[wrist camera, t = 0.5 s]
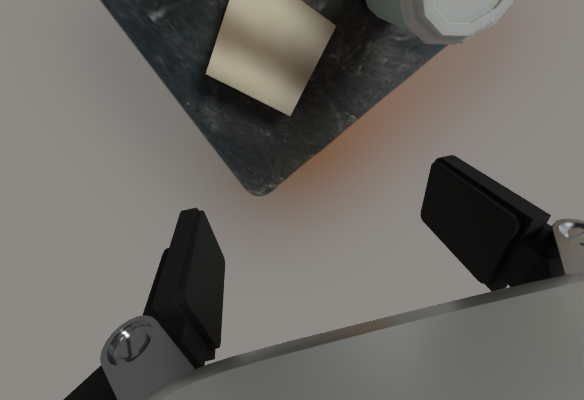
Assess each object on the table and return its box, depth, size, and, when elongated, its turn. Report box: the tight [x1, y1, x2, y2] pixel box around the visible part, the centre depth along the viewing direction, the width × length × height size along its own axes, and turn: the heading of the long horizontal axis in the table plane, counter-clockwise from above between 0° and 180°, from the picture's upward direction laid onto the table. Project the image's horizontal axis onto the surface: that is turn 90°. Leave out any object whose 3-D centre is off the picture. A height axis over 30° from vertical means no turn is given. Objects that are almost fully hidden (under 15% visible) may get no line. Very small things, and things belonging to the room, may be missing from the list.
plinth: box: [206, 0, 336, 116], centre depth 29 cm, size 11×11×3 cm
